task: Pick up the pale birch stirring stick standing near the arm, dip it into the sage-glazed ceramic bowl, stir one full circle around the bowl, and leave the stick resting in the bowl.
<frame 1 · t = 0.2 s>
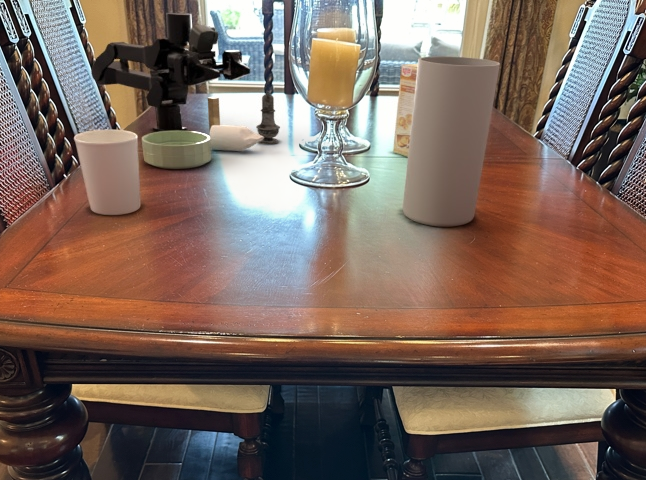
hand: (235, 72, 137), 16 cm above the table, tool horizontal, fingers open, 9 cm apart
coffeecake box: (423, 152, 148), on the table
cylinder vase: (437, 216, 107), on the table
stick: (215, 135, 155), on the table
white cup: (116, 208, 105), on the table
white milk carton: (238, 151, 142), on the table
bowl: (178, 161, 132), on the table
salt shaker: (268, 142, 151), on the table
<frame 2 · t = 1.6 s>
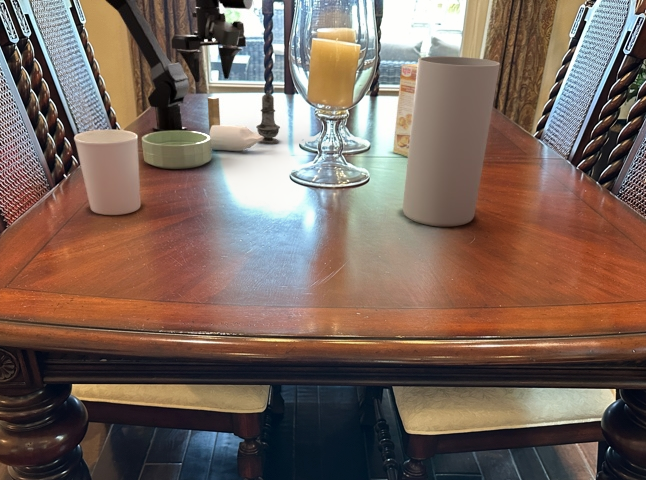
hand: (212, 80, 149), 13 cm above the table, tool pointing down, fingers open, 9 cm apart
nothing on the table moved.
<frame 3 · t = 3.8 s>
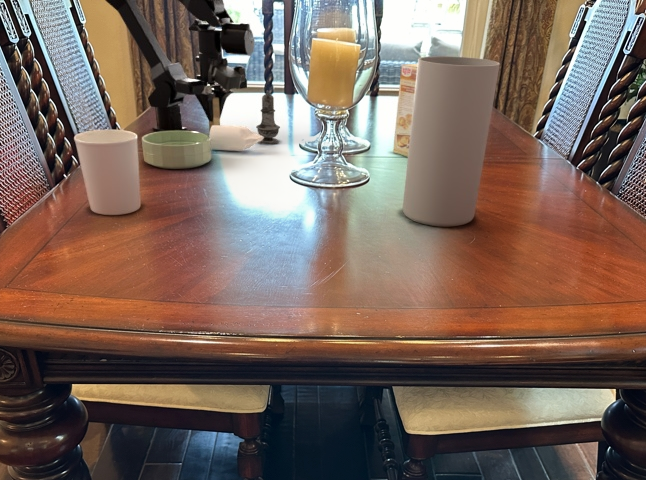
hand: (214, 120, 154), 4 cm above the table, tool pointing down, fingers closed on stick, 2 cm apart
stick: (215, 135, 155), on the table, touching gripper
everything else where it was.
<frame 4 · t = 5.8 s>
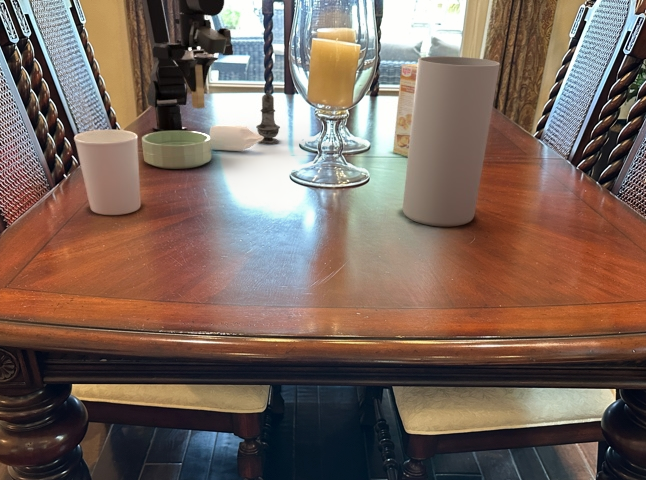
hand: (197, 91, 139), 12 cm above the table, tool pointing down, fingers closed on stick
stick: (198, 107, 140), point 9 cm above the table, touching gripper
everything else where it was.
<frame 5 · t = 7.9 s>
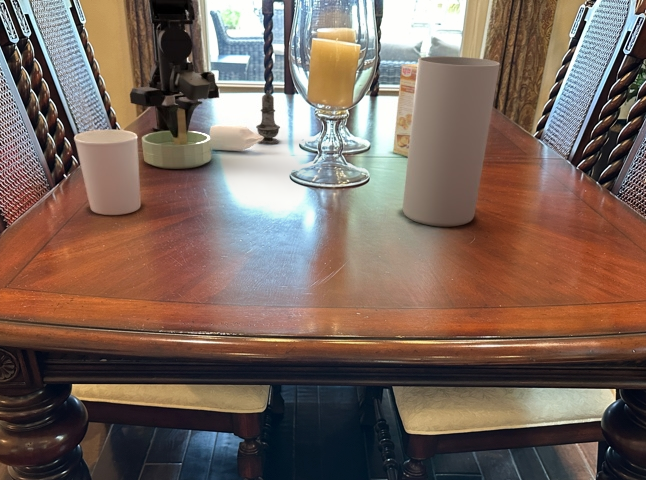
hand: (179, 136, 129), 5 cm above the table, tool pointing down, fingers closed on stick, 2 cm apart
stick: (181, 153, 130), point 2 cm above the table, touching gripper
everything else where it was.
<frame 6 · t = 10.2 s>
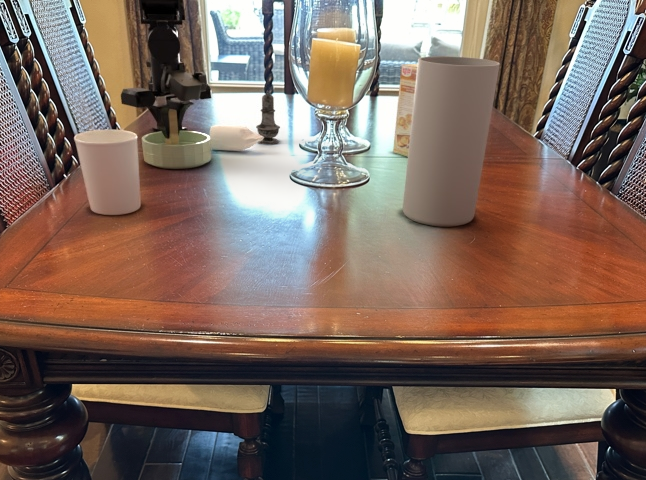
hand: (171, 137, 128), 5 cm above the table, tool pointing down, fingers closed on stick, 2 cm apart
stick: (173, 154, 130), point 2 cm above the table, touching gripper
everything else where it was.
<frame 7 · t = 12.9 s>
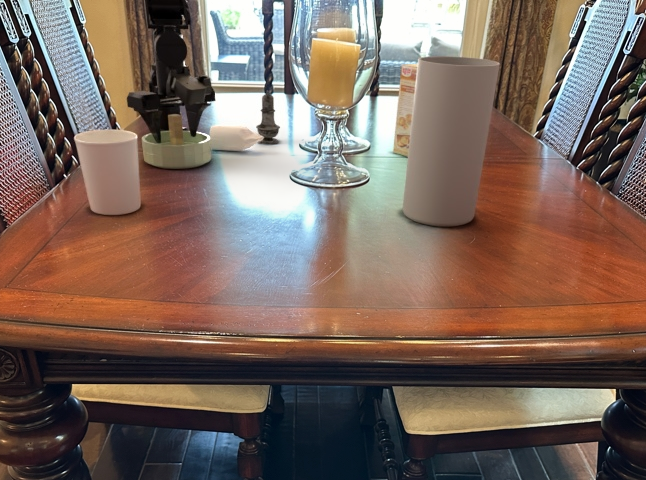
hand: (176, 139, 130), 5 cm above the table, tool pointing down, fingers open, 9 cm apart
stick: (178, 158, 132), point 1 cm above the table, touching bowl
everything else where it was.
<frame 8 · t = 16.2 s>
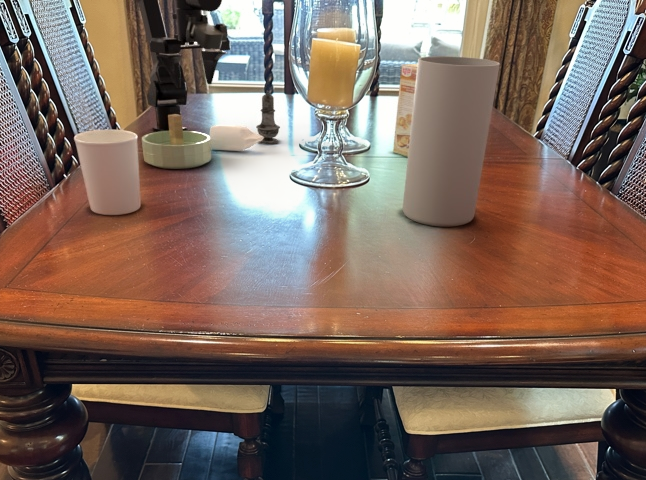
hand: (194, 85, 141), 13 cm above the table, tool pointing down, fingers open, 9 cm apart
nothing on the table moved.
at the end: stick inside the target area in the bowl (0.1 cm from its centre), point 0.6 cm above the bowl's base; stick moved 26.9 cm from its start; the gripper is holding nothing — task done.
